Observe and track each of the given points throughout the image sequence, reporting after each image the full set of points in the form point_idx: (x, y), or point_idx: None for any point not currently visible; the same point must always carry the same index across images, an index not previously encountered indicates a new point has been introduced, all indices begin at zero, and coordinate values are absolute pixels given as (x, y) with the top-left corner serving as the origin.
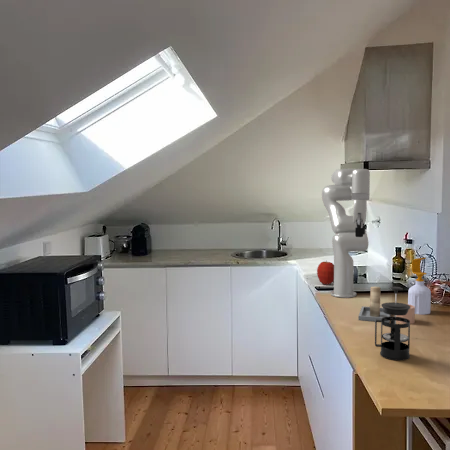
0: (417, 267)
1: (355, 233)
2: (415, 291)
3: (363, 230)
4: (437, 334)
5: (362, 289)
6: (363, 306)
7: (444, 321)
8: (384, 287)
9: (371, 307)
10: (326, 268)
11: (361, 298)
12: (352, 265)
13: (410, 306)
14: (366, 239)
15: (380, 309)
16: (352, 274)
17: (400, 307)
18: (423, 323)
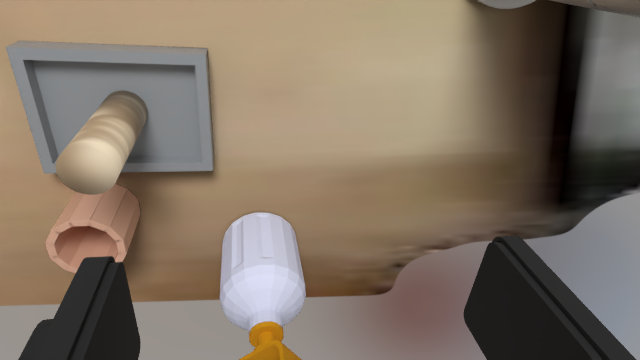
0: None
1: (62, 304)
2: (225, 293)
3: (498, 358)
4: (24, 289)
5: (618, 31)
6: (205, 61)
7: (187, 298)
8: (634, 121)
9: (95, 111)
10: None
11: (451, 34)
12: (611, 9)
13: (114, 258)
14: None
15: (201, 132)
16: (565, 1)
17: None
18: (134, 254)
